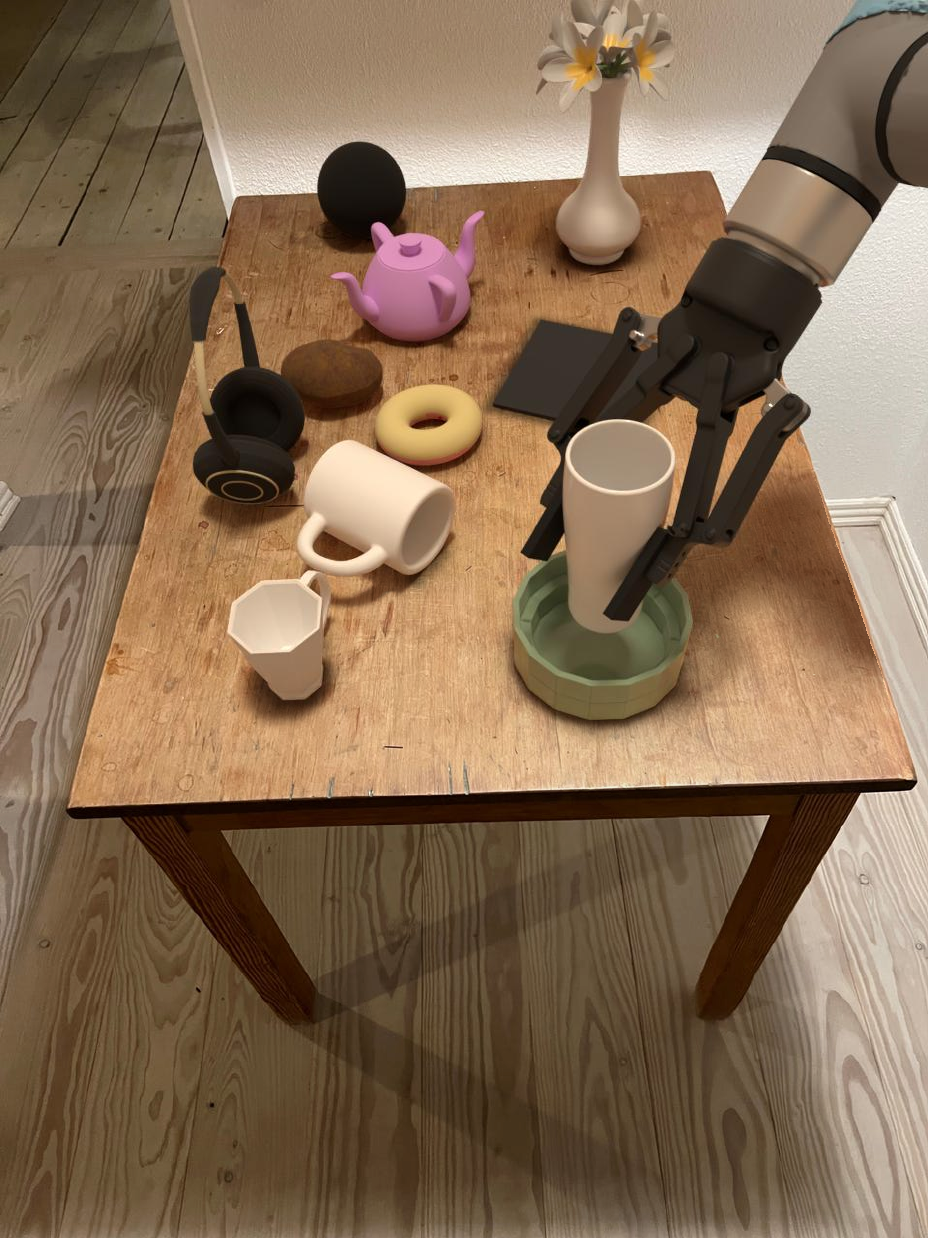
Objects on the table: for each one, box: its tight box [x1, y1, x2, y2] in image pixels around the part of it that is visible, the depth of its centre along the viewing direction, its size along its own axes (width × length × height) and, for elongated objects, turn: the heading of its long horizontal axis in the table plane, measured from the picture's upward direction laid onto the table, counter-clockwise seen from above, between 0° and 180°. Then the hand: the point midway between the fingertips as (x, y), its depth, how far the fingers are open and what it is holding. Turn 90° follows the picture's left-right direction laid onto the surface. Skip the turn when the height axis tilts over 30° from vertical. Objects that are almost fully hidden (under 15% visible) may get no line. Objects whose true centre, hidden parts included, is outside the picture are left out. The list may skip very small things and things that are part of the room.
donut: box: [374, 383, 484, 466], centre depth 88 cm, size 10×5×9 cm
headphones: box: [188, 266, 306, 505], centre depth 79 cm, size 9×15×20 cm, turn 179°
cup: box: [226, 570, 332, 701], centre depth 71 cm, size 7×10×8 cm
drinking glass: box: [562, 419, 677, 633], centre depth 63 cm, size 7×7×15 cm
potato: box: [280, 338, 384, 409], centre depth 90 cm, size 7×10×6 cm
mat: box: [492, 319, 658, 422], centre depth 93 cm, size 14×14×1 cm
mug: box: [296, 439, 457, 578], centre depth 77 cm, size 12×10×8 cm
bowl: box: [512, 549, 694, 721], centre depth 71 cm, size 13×13×5 cm
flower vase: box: [535, 0, 677, 266], centre depth 96 cm, size 13×18×25 cm
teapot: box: [330, 210, 485, 343], centre depth 97 cm, size 12×14×9 cm
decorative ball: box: [316, 141, 407, 240], centre depth 107 cm, size 10×10×10 cm
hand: (574, 586), depth 63 cm, fingers closed on drinking glass, 7 cm apart
